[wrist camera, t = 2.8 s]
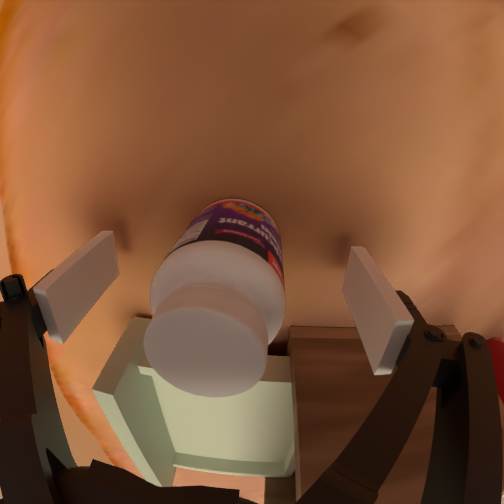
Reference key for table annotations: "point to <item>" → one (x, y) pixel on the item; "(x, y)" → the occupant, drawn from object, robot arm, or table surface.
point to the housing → (347, 414)
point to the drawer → (195, 418)
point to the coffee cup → (498, 364)
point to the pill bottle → (218, 301)
